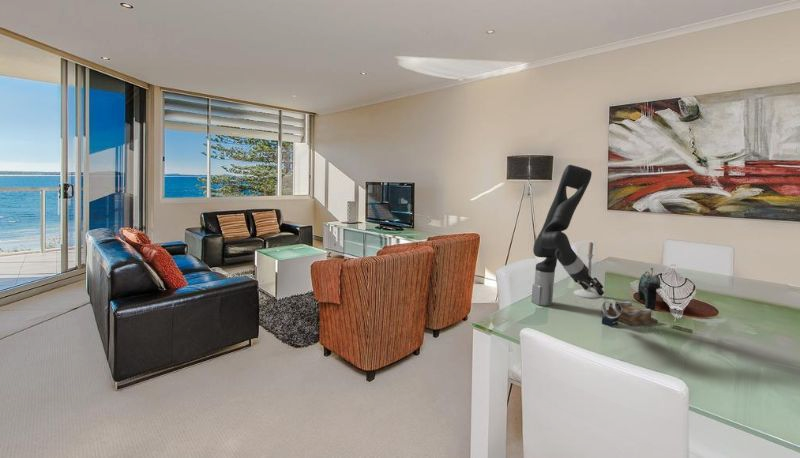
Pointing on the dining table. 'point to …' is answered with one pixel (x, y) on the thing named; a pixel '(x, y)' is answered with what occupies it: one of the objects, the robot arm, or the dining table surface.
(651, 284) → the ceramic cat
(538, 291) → the robot arm
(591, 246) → the candlestick
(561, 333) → the dining table surface
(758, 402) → the dining table surface
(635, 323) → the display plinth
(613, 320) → the watch
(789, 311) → the dining table surface
